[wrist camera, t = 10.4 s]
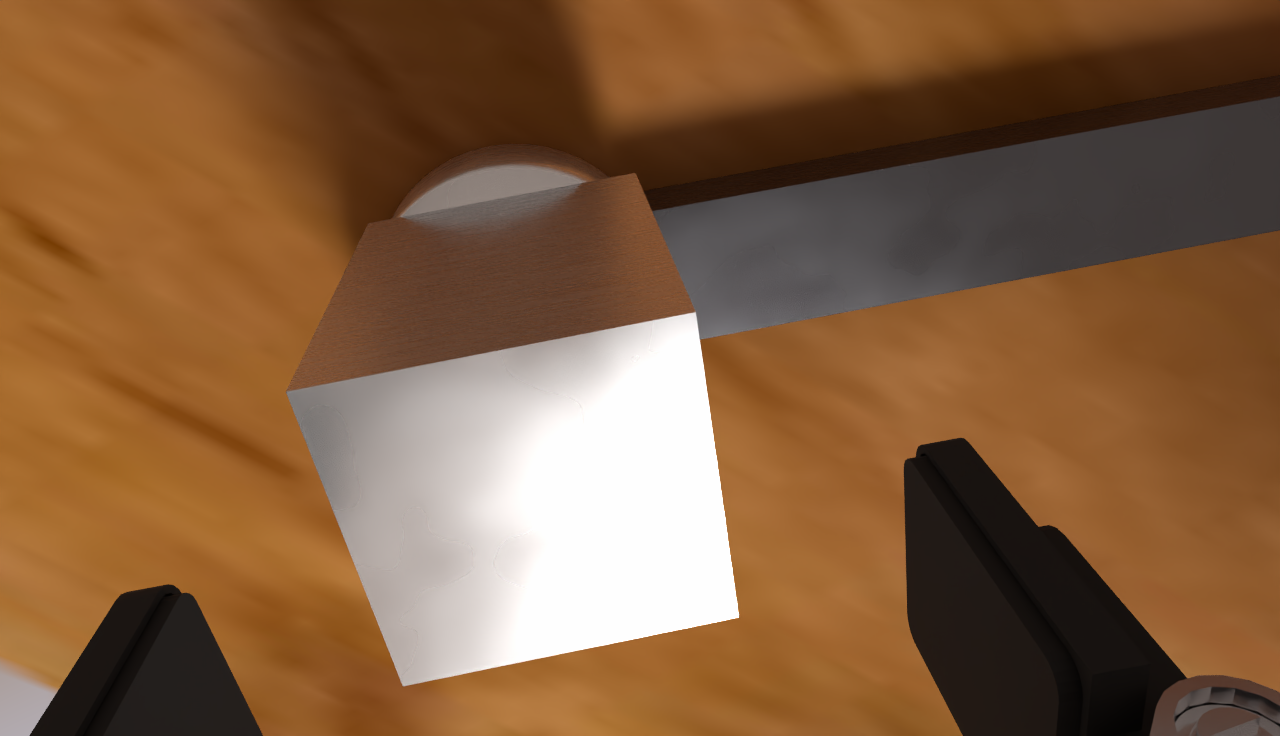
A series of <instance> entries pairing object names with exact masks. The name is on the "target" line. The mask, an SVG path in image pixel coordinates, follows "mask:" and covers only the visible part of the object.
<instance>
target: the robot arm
mask: <svg viewBox="0 0 1280 736" xmlns="http://www.w3.org/2000/svg"><path fill="white" fill-rule="evenodd" d="M904 495H905V536H906V577H907V614H908V622H909V627H910V630H911V634H912V637H913V639H914V642H915V644H916V646H917V648H918V650H919V652H920V654H921V656H922V657H923V659H924V661H925V663H926V665H927V667H928V669H929V671H930V673H931V675H932V677H933V679H934V681H935V683H936V685H937V686H938V688H939V690H940V692H941V694H942V696H943V698H944V700H945V702H946V704H947V706H948V708H949V710H950V712H951V713H952V715H953V717H954V719H955V721H956V723H957V725H958V727H959V729H960V731H961V733H962V735H963V736H1280V693H1279V692H1277V691H1276V690H1273V689H1270V688H1268V687H1265V686H1263V685H1260V684H1257V683H1255V682H1252V681H1250V680H1245V679H1239V678H1234V677H1229V676H1224V675H1204V676H1195V677H1191V678H1188V679H1187V678H1186V676H1185V675H1184V674H1183V673H1182V672H1181V671H1180V669H1179V668H1178V667H1177V666H1176V665H1175V664H1174V662H1173V661H1172V660H1171V659H1170V658H1169V657H1168V655H1167V654H1166V653H1165V652H1164V651H1163V650H1162V648H1161V647H1160V646H1159V645H1158V644H1157V643H1156V641H1155V640H1154V639H1153V638H1152V637H1151V636H1150V634H1149V633H1148V632H1147V631H1146V630H1145V629H1144V627H1143V626H1142V625H1141V624H1140V623H1139V621H1138V620H1137V619H1136V618H1135V617H1134V616H1133V614H1132V613H1131V612H1130V611H1129V610H1128V609H1127V607H1126V606H1125V605H1124V604H1123V603H1122V602H1121V600H1120V599H1119V598H1118V597H1117V596H1116V595H1115V593H1114V592H1113V591H1112V590H1111V589H1110V588H1109V586H1108V585H1107V584H1106V583H1105V582H1104V581H1103V579H1102V578H1101V577H1100V576H1099V575H1098V574H1097V572H1096V571H1095V570H1094V569H1093V568H1092V567H1091V565H1090V564H1089V563H1088V562H1087V561H1086V560H1085V558H1084V557H1083V556H1082V555H1081V554H1080V553H1079V551H1078V550H1077V549H1076V548H1075V547H1074V546H1073V544H1072V543H1071V542H1070V541H1069V540H1068V539H1067V537H1066V536H1065V535H1064V534H1063V533H1062V532H1060V531H1059V530H1058V529H1057V528H1055V527H1053V526H1050V525H1047V526H1042V527H1038V526H1037V525H1036V524H1035V522H1034V521H1033V520H1032V519H1031V518H1030V516H1029V515H1028V514H1027V513H1026V512H1025V510H1024V509H1023V508H1022V507H1021V505H1020V504H1019V503H1018V502H1017V501H1016V499H1015V498H1014V497H1013V496H1012V495H1011V493H1010V492H1009V491H1008V490H1007V488H1006V487H1005V486H1004V485H1003V484H1002V482H1001V481H1000V480H999V479H998V478H997V476H996V475H995V474H994V473H993V471H992V470H991V469H990V468H989V467H988V465H987V464H986V463H985V462H984V461H983V459H982V458H981V457H980V456H979V454H978V453H977V452H976V451H975V450H974V448H973V447H972V446H971V445H970V444H969V442H968V441H966V440H965V439H964V438H957V439H951V440H946V441H941V442H935V443H930V444H924V445H920V446H919V447H918V449H917V452H916V457H915V458H910V459H907V460H905V463H904ZM30 736H263V735H262V733H261V731H260V729H259V727H258V725H257V723H256V721H255V719H254V717H253V715H252V713H251V710H250V708H249V706H248V704H247V702H246V700H245V698H244V696H243V694H242V692H241V690H240V688H239V686H238V684H237V682H236V680H235V678H234V676H233V674H232V672H231V670H230V668H229V666H228V664H227V662H226V660H225V658H224V656H223V654H222V652H221V650H220V648H219V646H218V644H217V642H216V640H215V638H214V636H213V634H212V632H211V630H210V628H209V626H208V624H207V622H206V620H205V618H204V616H203V614H202V612H201V610H200V608H199V605H198V603H197V601H196V600H195V598H194V597H193V596H192V595H191V594H189V593H181V592H180V590H179V589H178V588H176V587H175V586H174V585H163V586H157V587H152V588H147V589H141V590H136V591H130V592H126V593H124V594H121V595H120V596H119V597H118V599H117V600H116V601H115V603H114V604H113V606H112V607H111V609H110V610H109V612H108V614H107V615H106V617H105V618H104V620H103V621H102V623H101V624H100V626H99V628H98V629H97V631H96V632H95V634H94V635H93V637H92V639H91V640H90V642H89V643H88V645H87V646H86V648H85V650H84V651H83V653H82V654H81V656H80V657H79V659H78V660H77V662H76V664H75V665H74V667H73V668H72V670H71V671H70V673H69V675H68V676H67V678H66V679H65V681H64V682H63V684H62V686H61V687H60V689H59V690H58V692H57V693H56V695H55V697H54V698H53V700H52V701H51V703H50V705H49V706H48V708H47V709H46V711H45V712H44V714H43V715H42V717H41V718H40V720H39V722H38V723H37V725H36V726H35V728H34V729H33V731H32V733H31V734H30Z"/></svg>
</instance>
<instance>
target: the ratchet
mask: <svg viewBox="0 0 1280 736" xmlns="http://www.w3.org/2000/svg"><path fill="white" fill-rule="evenodd" d="M606 178H610V177H608V176H607V175H606V174H605V173H603V172H602V171H601V170H599V169H598V168H596V167H594V166H593V165H591V164H589V163H588V162H586V161H584V160H582V159H580V158H578V157H576V156H573V155H571V154H569V153H566V152H563V151H559V150H556V149H552V148H549V147H543V146H537V145H530V144H504V145H495V146H488V147H484V148H480V149H476V150H472V151H469V152H467V153H464V154H462V155H459V156H457V157H454V158H452V159H450V160H449V161H447V162H445V163H443V164H441V165H440V166H438V167H436V168H435V169H434V170H432V171H431V172H430V173H429V174H427V175H426V176H425V177H423V178H422V179H421V180H420V181H419V182H418V183H417V184H416V185H415V186H414V187H413V188H412V189H411V190H410V191H409V192H408V194H407V195H406V197H405V198H404V199H403V201H402V202H401V203H400V205H399V206H398V208H397V210H396V212H395V214H394V215H393V217H392V219H394V218H399V217H405V216H410V215H415V214H421V213H426V212H431V211H437V210H442V209H447V208H452V207H458V206H463V205H468V204H474V203H479V202H484V201H490V200H495V199H500V198H505V197H511V196H516V195H521V194H527V193H532V192H537V191H542V190H548V189H553V188H558V187H564V186H569V185H574V184H579V183H584V182H590V181H595V180H600V179H606ZM643 192H644V194H645V196H646V199H647V201H648V203H649V205H650V208H651V210H652V212H653V215H654V217H655V219H656V222H657V224H658V226H659V228H660V231H661V233H662V235H663V238H664V240H665V242H666V245H667V247H668V249H669V252H670V254H671V256H672V258H673V261H674V263H675V265H676V268H677V270H678V272H679V275H680V277H681V279H682V281H683V284H684V286H685V288H686V291H687V293H688V295H689V298H690V300H691V302H692V305H693V307H694V309H695V311H696V317H697V324H698V331H699V339H705V338H711V337H716V336H721V335H726V334H732V333H737V332H742V331H748V330H753V329H758V328H764V327H769V326H774V325H780V324H785V323H790V322H795V321H801V320H806V319H811V318H817V317H822V316H827V315H833V314H838V313H843V312H848V311H854V310H859V309H864V308H870V307H875V306H880V305H886V304H891V303H896V302H901V301H907V300H912V299H917V298H923V297H928V296H933V295H939V294H944V293H949V292H954V291H960V290H965V289H970V288H976V287H981V286H986V285H992V284H997V283H1002V282H1008V281H1013V280H1018V279H1023V278H1029V277H1034V276H1039V275H1045V274H1050V273H1055V272H1061V271H1066V270H1071V269H1076V268H1082V267H1087V266H1092V265H1098V264H1103V263H1108V262H1114V261H1119V260H1124V259H1129V258H1135V257H1140V256H1145V255H1151V254H1156V253H1161V252H1167V251H1172V250H1177V249H1182V248H1188V247H1193V246H1198V245H1204V244H1209V243H1214V242H1220V241H1225V240H1230V239H1236V238H1241V237H1246V236H1251V235H1257V234H1262V233H1267V232H1273V231H1278V230H1280V75H1278V76H1272V77H1267V78H1261V79H1256V80H1250V81H1245V82H1239V83H1234V84H1228V85H1223V86H1218V87H1212V88H1207V89H1201V90H1196V91H1190V92H1185V93H1179V94H1174V95H1168V96H1163V97H1157V98H1152V99H1146V100H1141V101H1135V102H1130V103H1124V104H1119V105H1113V106H1108V107H1102V108H1097V109H1091V110H1086V111H1080V112H1075V113H1069V114H1064V115H1058V116H1053V117H1047V118H1042V119H1036V120H1031V121H1025V122H1020V123H1014V124H1009V125H1004V126H998V127H993V128H987V129H982V130H976V131H971V132H965V133H960V134H954V135H949V136H943V137H938V138H932V139H927V140H921V141H916V142H910V143H905V144H899V145H894V146H888V147H883V148H877V149H872V150H866V151H861V152H855V153H850V154H844V155H839V156H833V157H828V158H822V159H817V160H811V161H806V162H800V163H795V164H789V165H784V166H779V167H773V168H768V169H762V170H757V171H751V172H746V173H740V174H735V175H729V176H724V177H718V178H713V179H707V180H702V181H696V182H691V183H685V184H680V185H674V186H669V187H663V188H658V189H652V190H647V191H643Z"/></svg>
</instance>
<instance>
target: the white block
mask: <svg viewBox="0 0 1280 736" xmlns="http://www.w3.org/2000/svg"><path fill="white" fill-rule="evenodd" d="M286 393H287V396H288V398H289V401H290V403H291V406H292V408H293V411H294V413H295V416H296V418H297V421H298V423H299V426H300V428H301V431H302V433H303V436H304V438H305V441H306V443H307V446H308V448H309V451H310V453H311V456H312V459H313V461H314V464H315V466H316V469H317V471H318V474H319V476H320V479H321V481H322V484H323V486H324V489H325V491H326V494H327V496H328V499H329V501H330V504H331V506H332V509H333V511H334V514H335V516H336V519H337V521H338V524H339V526H340V529H341V531H342V534H343V536H344V539H345V542H346V544H347V547H348V549H349V552H350V554H351V557H352V559H353V562H354V564H355V567H356V569H357V572H358V574H359V577H360V579H361V582H362V584H363V587H364V589H365V592H366V594H367V597H368V599H369V602H370V604H371V607H372V609H373V612H374V614H375V617H376V619H377V622H378V624H379V627H380V630H381V632H382V635H383V637H384V640H385V642H386V645H387V647H388V650H389V652H390V655H391V657H392V660H393V662H394V665H395V667H396V670H397V672H398V675H399V677H400V680H401V682H402V685H403V686H407V685H412V684H416V683H421V682H426V681H431V680H436V679H441V678H446V677H450V676H455V675H460V674H465V673H470V672H475V671H480V670H484V669H489V668H494V667H499V666H504V665H509V664H514V663H518V662H523V661H528V660H533V659H538V658H543V657H548V656H552V655H557V654H562V653H567V652H572V651H577V650H582V649H586V648H591V647H596V646H601V645H606V644H611V643H616V642H620V641H625V640H630V639H635V638H640V637H645V636H650V635H654V634H659V633H664V632H669V631H674V630H679V629H684V628H688V627H693V626H698V625H703V624H708V623H713V622H718V621H723V620H727V619H732V618H737V617H738V609H737V602H736V595H735V588H734V581H733V574H732V567H731V560H730V552H729V545H728V538H727V531H726V524H725V517H724V510H723V503H722V495H721V488H720V481H719V474H718V467H717V460H716V453H715V445H714V438H713V431H712V424H711V417H710V410H709V403H708V396H707V388H706V381H705V374H704V367H703V360H702V353H701V346H700V339H699V331H698V324H697V317H696V311H695V309H694V307H693V305H692V302H691V300H690V298H689V295H688V293H687V291H686V288H685V286H684V284H683V281H682V279H681V277H680V275H679V272H678V270H677V268H676V265H675V263H674V261H673V258H672V256H671V254H670V252H669V249H668V247H667V245H666V242H665V240H664V238H663V235H662V233H661V231H660V228H659V226H658V224H657V222H656V219H655V217H654V215H653V212H652V210H651V208H650V205H649V203H648V201H647V199H646V196H645V194H644V192H643V189H642V187H641V185H640V182H639V180H638V178H637V175H636V173H632V174H627V175H622V176H616V177H611V178H606V179H600V180H595V181H590V182H584V183H579V184H574V185H569V186H564V187H558V188H553V189H548V190H542V191H537V192H532V193H527V194H521V195H516V196H511V197H505V198H500V199H495V200H490V201H484V202H479V203H474V204H468V205H463V206H458V207H452V208H447V209H442V210H437V211H431V212H426V213H421V214H415V215H410V216H405V217H399V218H394V219H389V220H383V221H378V222H373V223H368V225H367V227H366V229H365V231H364V233H363V235H362V237H361V239H360V241H359V243H358V245H357V247H356V249H355V252H354V254H353V256H352V258H351V260H350V262H349V264H348V266H347V268H346V270H345V272H344V274H343V276H342V278H341V280H340V282H339V284H338V286H337V288H336V290H335V292H334V294H333V297H332V299H331V301H330V303H329V305H328V307H327V309H326V311H325V313H324V315H323V317H322V319H321V321H320V323H319V325H318V327H317V329H316V331H315V333H314V335H313V337H312V340H311V342H310V344H309V346H308V348H307V350H306V352H305V354H304V356H303V358H302V360H301V362H300V364H299V366H298V368H297V370H296V372H295V374H294V376H293V378H292V380H291V382H290V385H289V387H288V389H287V391H286Z"/></svg>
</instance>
